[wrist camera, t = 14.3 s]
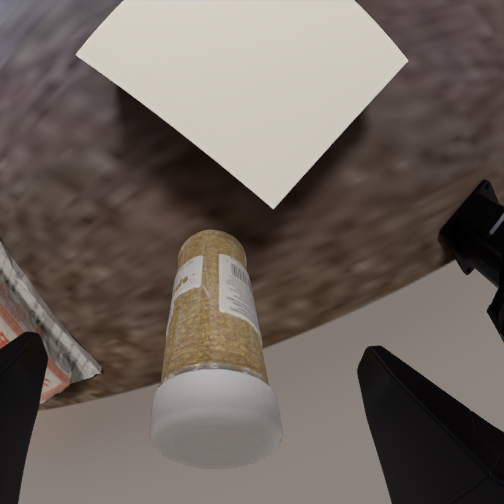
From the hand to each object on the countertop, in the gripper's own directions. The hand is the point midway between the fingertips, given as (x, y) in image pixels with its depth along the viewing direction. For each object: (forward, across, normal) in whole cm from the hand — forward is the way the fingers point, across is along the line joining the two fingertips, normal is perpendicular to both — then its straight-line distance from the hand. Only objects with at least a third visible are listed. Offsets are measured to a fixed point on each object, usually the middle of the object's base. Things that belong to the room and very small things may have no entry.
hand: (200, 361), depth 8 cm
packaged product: (+14, +18, +10) cm, 25 cm away
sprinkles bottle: (+13, 0, +4) cm, 14 cm away
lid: (+8, -1, -9) cm, 12 cm away
